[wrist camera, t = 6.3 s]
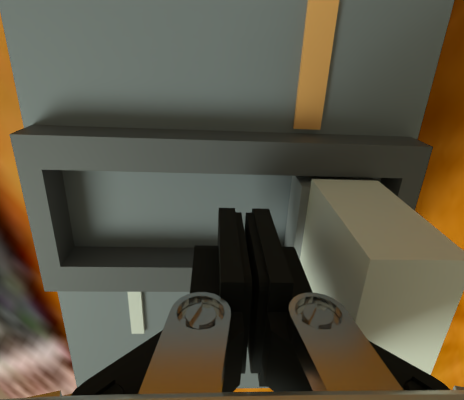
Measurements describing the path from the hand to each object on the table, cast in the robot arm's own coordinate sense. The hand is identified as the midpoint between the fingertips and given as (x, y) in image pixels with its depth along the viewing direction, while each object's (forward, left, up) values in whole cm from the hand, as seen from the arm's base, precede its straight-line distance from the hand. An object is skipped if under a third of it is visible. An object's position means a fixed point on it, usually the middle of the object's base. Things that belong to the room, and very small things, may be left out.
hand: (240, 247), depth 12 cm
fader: (0, +4, -3) cm, 5 cm away
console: (0, -1, -5) cm, 5 cm away
